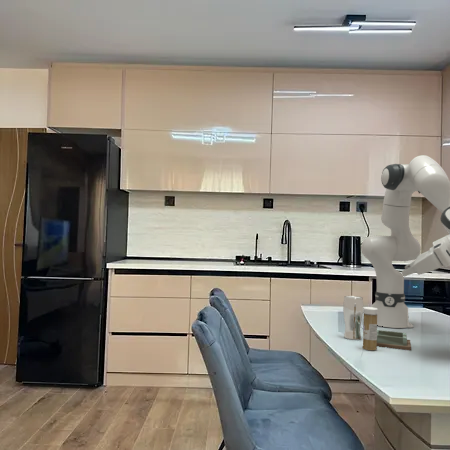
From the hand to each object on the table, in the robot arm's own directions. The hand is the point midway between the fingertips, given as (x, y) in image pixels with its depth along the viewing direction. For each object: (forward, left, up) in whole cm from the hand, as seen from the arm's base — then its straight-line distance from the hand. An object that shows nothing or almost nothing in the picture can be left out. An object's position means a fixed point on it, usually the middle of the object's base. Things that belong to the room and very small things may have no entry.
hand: (404, 271), depth 140 cm
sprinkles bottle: (+5, -10, -26) cm, 28 cm away
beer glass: (-10, -17, -26) cm, 32 cm away
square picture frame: (-7, -4, -26) cm, 27 cm away
